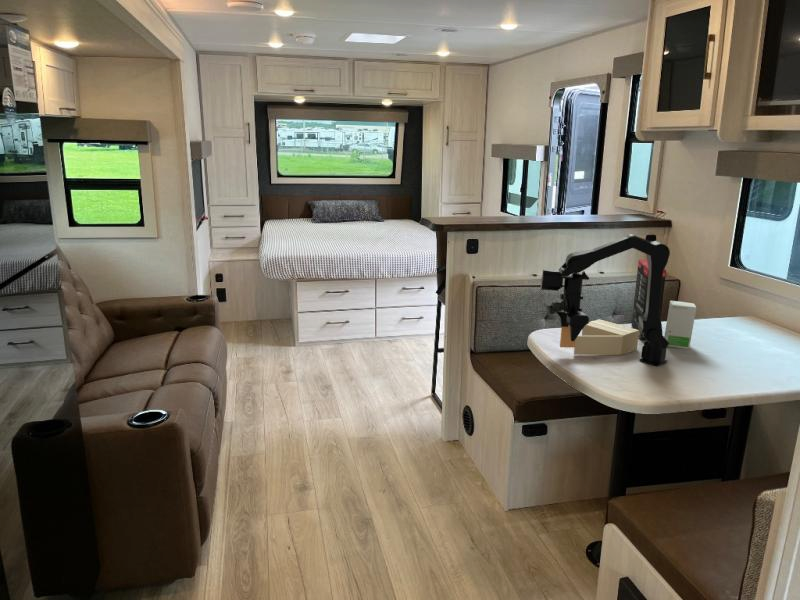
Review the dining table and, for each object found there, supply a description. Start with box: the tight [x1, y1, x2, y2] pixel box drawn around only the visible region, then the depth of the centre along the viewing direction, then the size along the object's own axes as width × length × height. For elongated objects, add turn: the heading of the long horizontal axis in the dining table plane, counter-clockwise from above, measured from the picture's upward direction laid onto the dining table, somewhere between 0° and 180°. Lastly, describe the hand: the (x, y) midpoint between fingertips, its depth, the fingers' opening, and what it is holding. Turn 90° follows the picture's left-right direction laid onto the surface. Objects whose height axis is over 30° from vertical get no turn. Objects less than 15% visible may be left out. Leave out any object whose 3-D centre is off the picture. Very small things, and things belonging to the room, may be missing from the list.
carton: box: [581, 319, 639, 356], centre depth 209 cm, size 16×10×7 cm, turn 38°
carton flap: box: [559, 326, 623, 356], centre depth 199 cm, size 21×1×10 cm, turn 93°
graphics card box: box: [631, 259, 667, 341], centre depth 221 cm, size 17×7×27 cm, turn 171°
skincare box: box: [663, 300, 697, 350], centre depth 210 cm, size 8×7×16 cm
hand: (568, 336), depth 198 cm, fingers open, 9 cm apart
